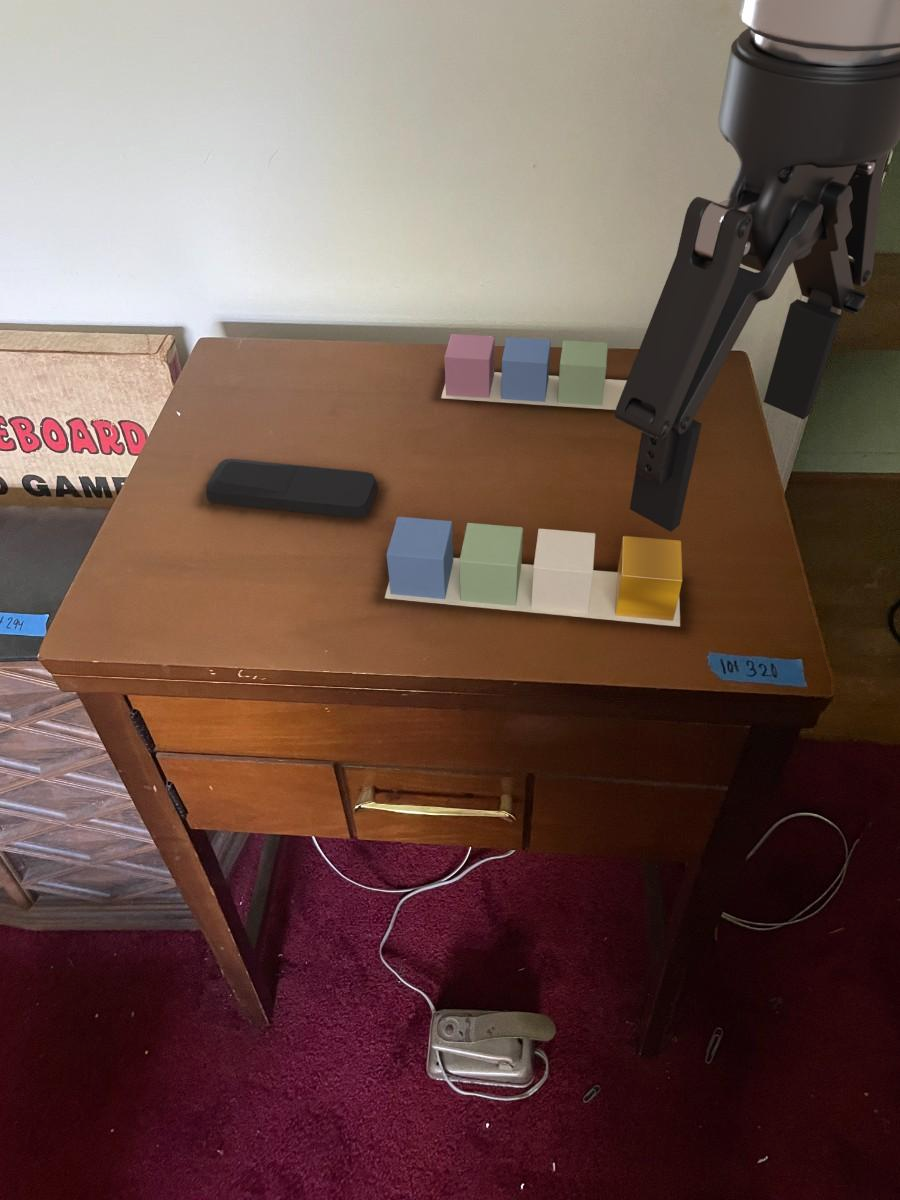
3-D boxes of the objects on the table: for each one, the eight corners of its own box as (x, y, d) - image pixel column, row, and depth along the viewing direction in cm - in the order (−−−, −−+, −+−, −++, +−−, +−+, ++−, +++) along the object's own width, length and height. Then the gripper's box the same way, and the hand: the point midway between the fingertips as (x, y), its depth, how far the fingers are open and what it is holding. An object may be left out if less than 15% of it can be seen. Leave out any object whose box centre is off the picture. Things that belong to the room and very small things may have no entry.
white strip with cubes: (678, 578, 72) (687, 537, 69) (679, 626, 68) (689, 585, 65) (397, 553, 75) (393, 512, 71) (384, 598, 71) (380, 557, 68)
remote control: (380, 488, 81) (222, 467, 83) (379, 472, 80) (219, 452, 82) (367, 524, 78) (203, 502, 80) (366, 508, 77) (199, 486, 78)
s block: (672, 580, 72) (681, 540, 68) (673, 621, 69) (682, 580, 65) (616, 575, 72) (623, 535, 69) (615, 615, 69) (621, 575, 66)
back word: (673, 384, 91) (680, 344, 88) (674, 413, 87) (681, 373, 84) (449, 370, 94) (448, 331, 90) (441, 398, 90) (439, 358, 87)
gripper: (886, -40, 44) (780, 348, 59) (557, 95, 32) (531, 537, 47) (1047, -15, 40) (888, 392, 55) (743, 148, 28) (649, 609, 43)
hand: (724, 459), depth 51 cm, fingers open, 13 cm apart
